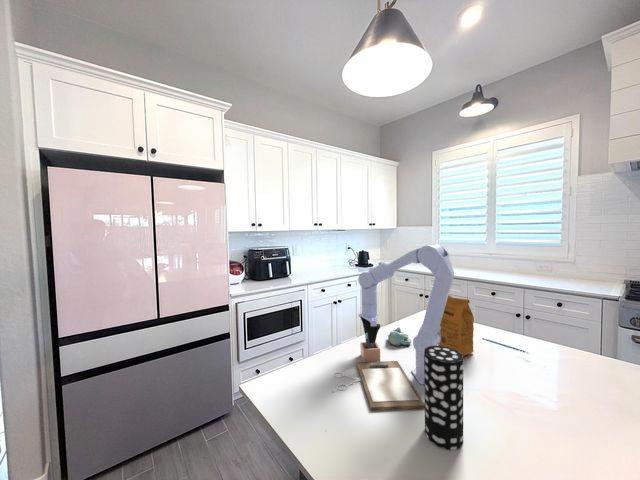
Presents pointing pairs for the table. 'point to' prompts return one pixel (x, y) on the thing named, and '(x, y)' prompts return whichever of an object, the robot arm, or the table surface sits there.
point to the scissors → (345, 384)
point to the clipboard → (388, 386)
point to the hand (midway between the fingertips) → (369, 338)
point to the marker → (368, 345)
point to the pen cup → (370, 353)
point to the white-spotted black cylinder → (443, 396)
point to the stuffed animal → (398, 337)
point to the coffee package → (457, 326)
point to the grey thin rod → (503, 344)
